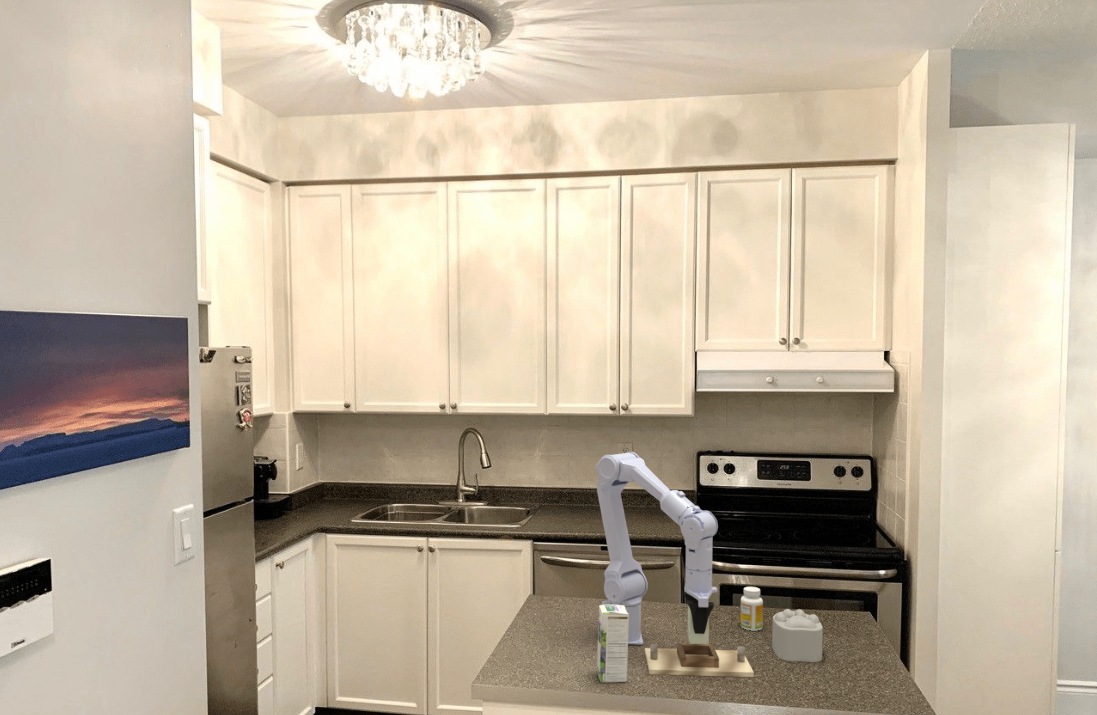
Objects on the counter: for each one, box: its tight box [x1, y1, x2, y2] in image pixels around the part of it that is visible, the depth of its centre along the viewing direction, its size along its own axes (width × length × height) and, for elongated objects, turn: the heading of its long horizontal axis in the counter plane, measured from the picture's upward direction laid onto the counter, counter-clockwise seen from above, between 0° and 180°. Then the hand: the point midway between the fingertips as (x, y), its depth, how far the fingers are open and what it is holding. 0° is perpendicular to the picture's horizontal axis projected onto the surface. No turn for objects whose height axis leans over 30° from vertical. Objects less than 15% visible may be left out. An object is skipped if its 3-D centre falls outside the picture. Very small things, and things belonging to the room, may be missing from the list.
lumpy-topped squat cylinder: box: [771, 608, 824, 663], centre depth 181 cm, size 10×13×9 cm
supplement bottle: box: [740, 586, 764, 632], centre depth 196 cm, size 5×5×10 cm
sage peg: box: [687, 605, 710, 644], centre depth 173 cm, size 4×4×8 cm
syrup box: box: [596, 604, 629, 683], centre depth 165 cm, size 6×6×14 cm
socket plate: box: [644, 643, 755, 678], centre depth 173 cm, size 22×12×4 cm, turn 88°
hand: (697, 629), depth 173 cm, fingers closed on sage peg, 4 cm apart
